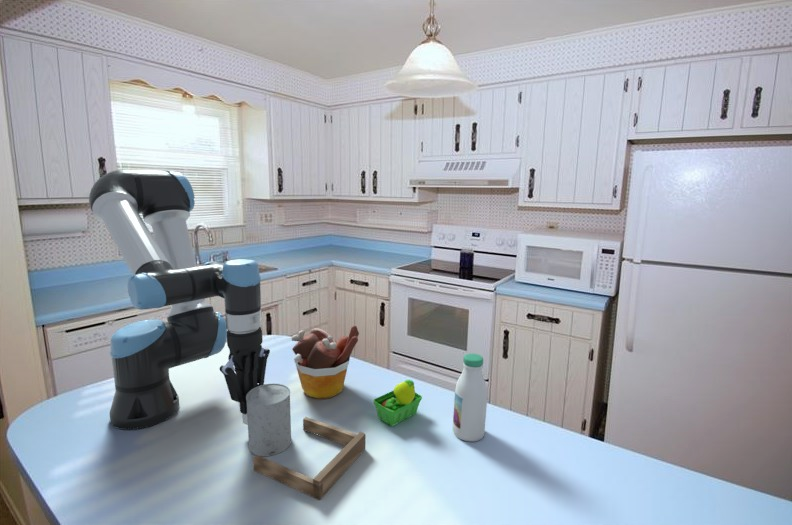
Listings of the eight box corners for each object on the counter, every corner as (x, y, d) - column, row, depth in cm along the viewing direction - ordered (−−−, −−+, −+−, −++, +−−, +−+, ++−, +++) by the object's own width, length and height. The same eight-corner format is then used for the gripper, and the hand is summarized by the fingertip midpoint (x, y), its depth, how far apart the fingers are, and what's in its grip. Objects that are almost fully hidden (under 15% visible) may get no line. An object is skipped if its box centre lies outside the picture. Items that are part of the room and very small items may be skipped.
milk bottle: (487, 428, 101) (493, 354, 97) (480, 446, 94) (486, 366, 90) (457, 420, 104) (462, 347, 100) (448, 436, 97) (452, 359, 93)
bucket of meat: (282, 402, 110) (280, 333, 106) (300, 374, 126) (298, 314, 122) (354, 406, 109) (355, 337, 105) (363, 378, 125) (364, 317, 121)
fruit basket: (402, 402, 112) (403, 364, 110) (426, 415, 106) (428, 376, 104) (371, 418, 104) (372, 377, 102) (395, 433, 98) (396, 391, 96)
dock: (253, 470, 84) (252, 453, 83) (305, 427, 99) (305, 413, 98) (319, 500, 77) (319, 481, 76) (365, 449, 92) (365, 433, 91)
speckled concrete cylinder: (279, 459, 88) (277, 407, 85) (239, 452, 89) (237, 402, 87) (298, 433, 97) (297, 386, 94) (261, 427, 99) (259, 381, 96)
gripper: (233, 341, 83) (238, 443, 88) (277, 322, 95) (280, 413, 99) (208, 334, 87) (215, 433, 91) (254, 317, 98) (258, 405, 102)
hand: (249, 423), depth 95 cm, fingers closed
